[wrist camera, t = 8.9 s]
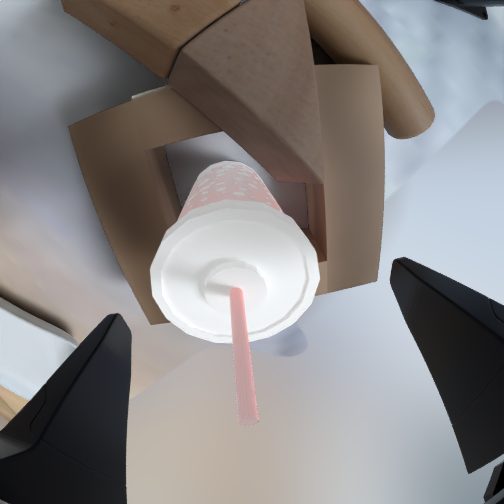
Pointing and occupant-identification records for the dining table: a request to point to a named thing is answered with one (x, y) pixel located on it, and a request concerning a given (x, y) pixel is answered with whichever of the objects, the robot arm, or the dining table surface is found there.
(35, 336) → the salad plate
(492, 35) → the dining table surface
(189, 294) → the beverage cup
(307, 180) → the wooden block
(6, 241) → the dining table surface
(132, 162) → the holder block
